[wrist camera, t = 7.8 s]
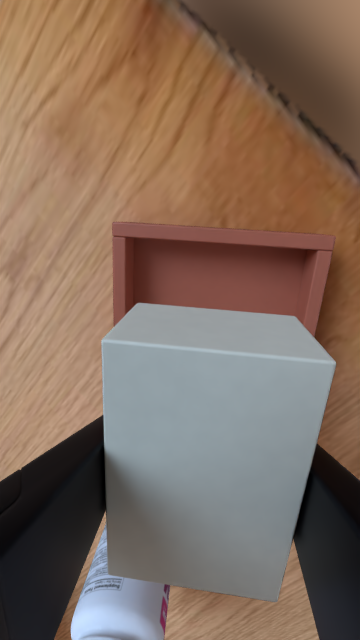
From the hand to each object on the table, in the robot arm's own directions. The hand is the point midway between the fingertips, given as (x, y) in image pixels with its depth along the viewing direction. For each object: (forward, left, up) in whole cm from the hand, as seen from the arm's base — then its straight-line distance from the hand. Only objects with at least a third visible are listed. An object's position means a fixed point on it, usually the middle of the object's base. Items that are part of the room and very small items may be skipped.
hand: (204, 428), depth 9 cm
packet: (0, 0, -1) cm, 1 cm away
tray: (0, 0, -7) cm, 7 cm away
